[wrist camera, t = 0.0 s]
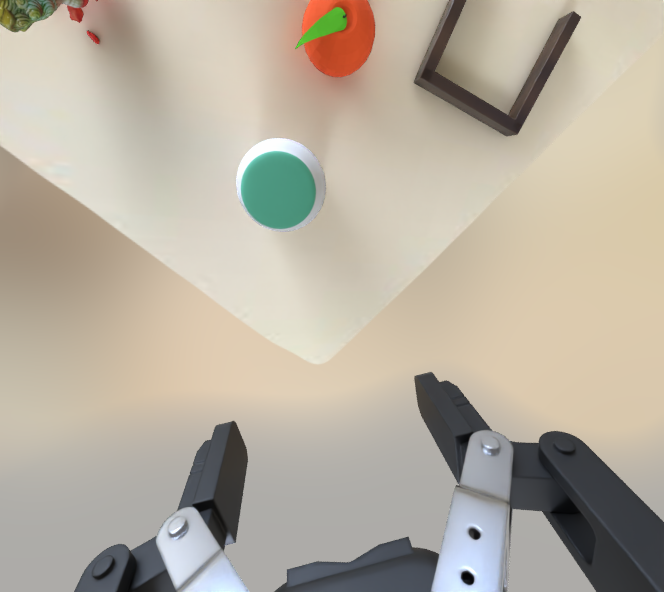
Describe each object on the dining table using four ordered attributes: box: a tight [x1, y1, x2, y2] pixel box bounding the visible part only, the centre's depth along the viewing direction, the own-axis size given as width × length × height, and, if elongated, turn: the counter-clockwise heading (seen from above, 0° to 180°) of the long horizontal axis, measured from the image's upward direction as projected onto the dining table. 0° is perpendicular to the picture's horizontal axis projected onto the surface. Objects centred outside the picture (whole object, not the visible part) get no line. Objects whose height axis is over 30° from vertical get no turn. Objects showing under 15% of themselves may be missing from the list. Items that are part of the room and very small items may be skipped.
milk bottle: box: [236, 138, 326, 232], centre depth 29 cm, size 8×8×20 cm
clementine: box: [295, 0, 375, 77], centre depth 30 cm, size 8×7×7 cm
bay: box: [414, 0, 581, 136], centre depth 35 cm, size 12×13×2 cm
